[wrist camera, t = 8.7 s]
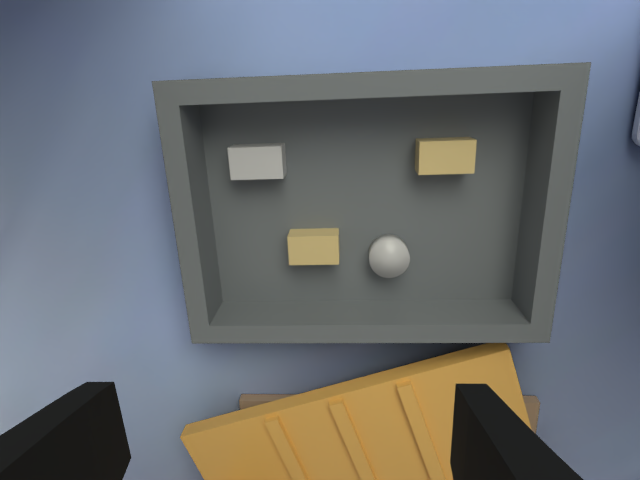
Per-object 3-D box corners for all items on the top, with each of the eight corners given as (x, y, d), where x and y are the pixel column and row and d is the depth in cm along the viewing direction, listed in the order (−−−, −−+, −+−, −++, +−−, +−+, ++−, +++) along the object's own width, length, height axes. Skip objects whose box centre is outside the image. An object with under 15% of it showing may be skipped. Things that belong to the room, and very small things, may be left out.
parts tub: (554, 65, 16) (591, 62, 14) (524, 310, 20) (549, 342, 17) (179, 81, 17) (152, 81, 15) (210, 312, 21) (191, 343, 18)
